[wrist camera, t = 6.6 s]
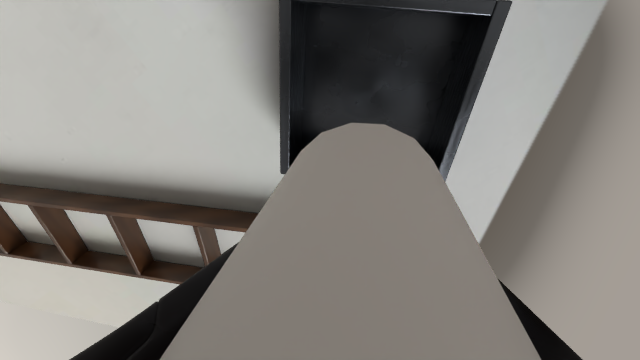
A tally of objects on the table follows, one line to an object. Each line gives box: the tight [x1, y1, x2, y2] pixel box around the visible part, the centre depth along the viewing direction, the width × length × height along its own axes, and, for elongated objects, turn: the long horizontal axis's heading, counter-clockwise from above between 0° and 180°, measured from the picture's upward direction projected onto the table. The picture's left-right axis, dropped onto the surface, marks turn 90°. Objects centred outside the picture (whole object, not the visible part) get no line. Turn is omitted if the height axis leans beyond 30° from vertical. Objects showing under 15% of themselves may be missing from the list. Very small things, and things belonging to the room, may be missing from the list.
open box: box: [279, 0, 512, 181], centre depth 16 cm, size 10×10×4 cm
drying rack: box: [0, 184, 259, 284], centre depth 28 cm, size 54×9×2 cm, turn 90°
